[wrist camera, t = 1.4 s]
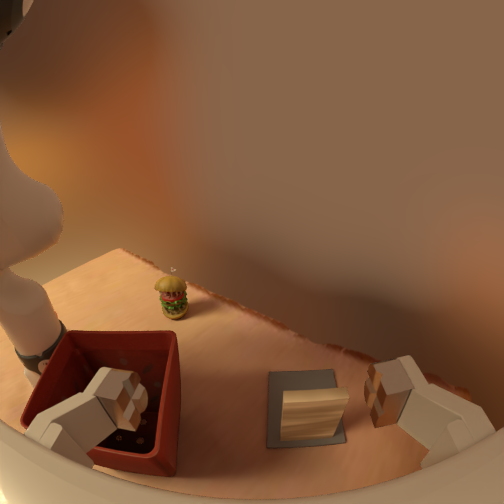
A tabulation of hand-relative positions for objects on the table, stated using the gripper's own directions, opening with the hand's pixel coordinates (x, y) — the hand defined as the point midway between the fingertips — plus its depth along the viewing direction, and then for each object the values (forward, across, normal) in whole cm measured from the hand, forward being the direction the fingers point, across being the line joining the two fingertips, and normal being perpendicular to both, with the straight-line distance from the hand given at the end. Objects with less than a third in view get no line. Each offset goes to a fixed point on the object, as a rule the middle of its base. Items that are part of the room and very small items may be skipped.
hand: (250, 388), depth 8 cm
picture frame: (+17, -5, +31) cm, 36 cm away
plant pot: (+14, +22, +30) cm, 40 cm away
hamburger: (+49, +24, +26) cm, 61 cm away
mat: (+23, -5, +30) cm, 39 cm away
